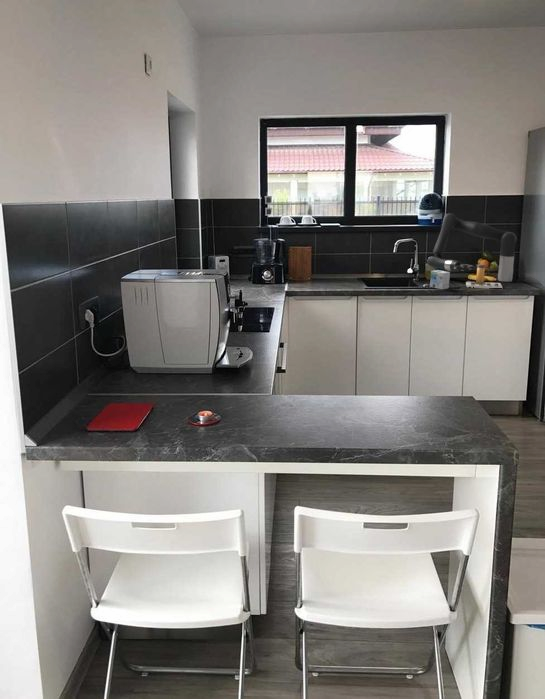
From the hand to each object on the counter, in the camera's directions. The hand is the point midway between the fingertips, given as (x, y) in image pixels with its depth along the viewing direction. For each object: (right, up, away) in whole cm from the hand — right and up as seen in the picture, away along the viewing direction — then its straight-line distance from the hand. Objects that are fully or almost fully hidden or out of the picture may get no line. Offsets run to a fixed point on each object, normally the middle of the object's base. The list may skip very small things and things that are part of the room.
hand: (472, 268), depth 456 cm
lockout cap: (+4, -10, -3) cm, 11 cm away
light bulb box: (-25, -14, -11) cm, 31 cm away
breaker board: (+6, -12, -5) cm, 14 cm away
